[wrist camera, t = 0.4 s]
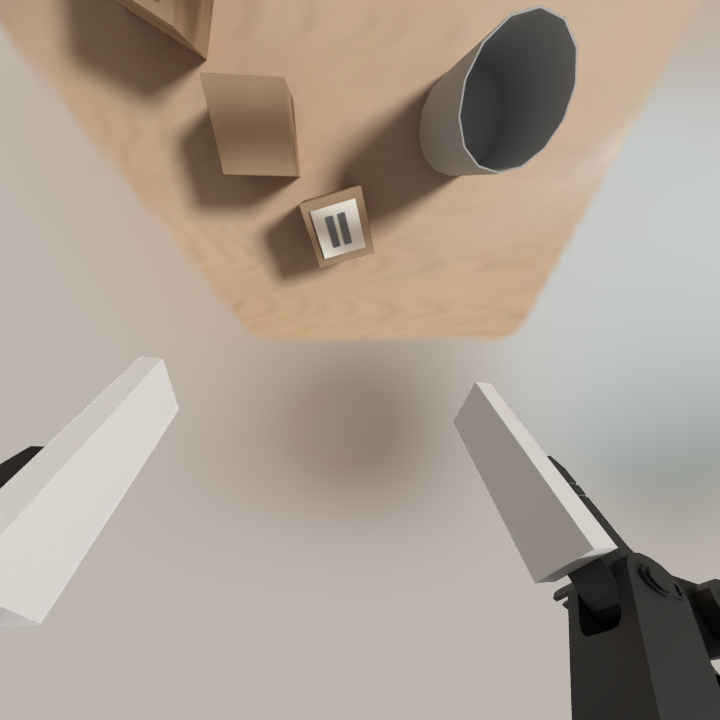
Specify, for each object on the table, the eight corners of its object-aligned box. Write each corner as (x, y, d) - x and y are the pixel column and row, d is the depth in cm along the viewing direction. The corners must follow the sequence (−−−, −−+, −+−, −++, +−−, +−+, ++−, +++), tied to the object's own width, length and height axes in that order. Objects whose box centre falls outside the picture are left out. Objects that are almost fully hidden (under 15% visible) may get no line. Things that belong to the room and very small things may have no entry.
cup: (421, 183, 29) (458, 184, 21) (414, 80, 24) (458, 28, 16) (495, 163, 29) (562, 156, 20) (503, 54, 24) (595, -12, 16)
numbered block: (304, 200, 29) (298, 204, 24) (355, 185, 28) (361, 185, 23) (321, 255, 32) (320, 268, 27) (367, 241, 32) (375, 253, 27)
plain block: (226, 95, 24) (199, 72, 19) (292, 98, 24) (283, 77, 19) (242, 175, 27) (223, 174, 22) (300, 176, 28) (294, 175, 23)
